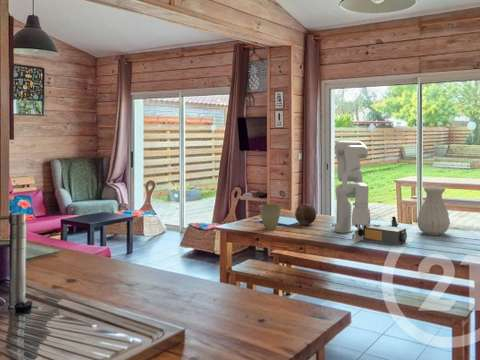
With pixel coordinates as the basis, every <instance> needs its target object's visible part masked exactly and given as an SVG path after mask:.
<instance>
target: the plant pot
mask: <svg viewBox="0 0 480 360" xmlns="http://www.w3.org/2000/svg"><path fill="white" fill-rule="evenodd" d="M281 210H282V205H280V204H261V205H259V212H260V213H259V214H260V216H261V217H260V218H261V222H262V225H263V227H264V230H266V229H267V230H266V231H274V229H275V230H276V229H277V227H278V223H279V220H280V217H281Z"/></svg>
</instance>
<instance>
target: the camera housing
mask: <svg viewBox="0 0 480 360" xmlns="http://www.w3.org/2000/svg"><path fill="white" fill-rule="evenodd" d="M407 238H408V234H407V228H404V227H403V228H402V227H398V226H397V227H391V225H383V224H377V223H370V227H366V228H365V229H364V235H363V239H362V240H363V241H370V242H375V243H381V242H382V244H387V243H389V245H392V246H393V245H395V246H398V245H401V244H403V242H404V243H406V242H405V241H407Z"/></svg>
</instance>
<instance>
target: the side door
mask: <svg viewBox="0 0 480 360" xmlns="http://www.w3.org/2000/svg"><path fill="white" fill-rule="evenodd" d="M360 227H361V228H362V226H360ZM351 239H352V240H353V241H352V242H353V244H357V243H358V242H360V241H362V240H363V236H362V237H361V236H359V235H358V229H357V228H356V229H355V230H353V233H352V237H351Z"/></svg>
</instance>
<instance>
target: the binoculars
mask: <svg viewBox="0 0 480 360" xmlns="http://www.w3.org/2000/svg"><path fill="white" fill-rule="evenodd" d="M390 226H391V227H398V226H399V223H398V221H397V218H396V216H392V217H391V224H390Z"/></svg>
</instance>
